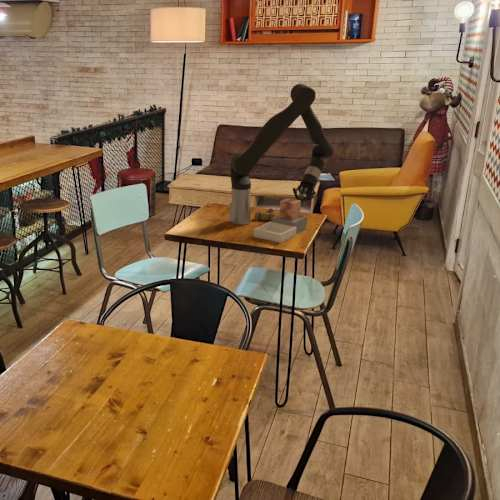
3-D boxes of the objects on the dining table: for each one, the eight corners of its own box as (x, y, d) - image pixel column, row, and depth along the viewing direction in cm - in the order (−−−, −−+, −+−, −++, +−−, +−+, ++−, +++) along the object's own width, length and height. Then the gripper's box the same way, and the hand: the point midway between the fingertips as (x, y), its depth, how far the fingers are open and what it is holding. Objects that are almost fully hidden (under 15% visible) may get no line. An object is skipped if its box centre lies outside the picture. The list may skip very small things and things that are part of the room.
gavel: (263, 204, 256) (281, 206, 254) (262, 213, 257) (280, 214, 255) (254, 212, 236) (274, 213, 234) (254, 221, 237) (274, 223, 235)
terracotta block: (279, 217, 222) (280, 200, 219) (286, 214, 228) (287, 198, 225) (292, 220, 219) (293, 203, 216) (299, 216, 224) (300, 200, 221)
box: (253, 237, 213) (253, 228, 212) (269, 229, 224) (270, 221, 223) (280, 243, 206) (281, 234, 204) (296, 235, 217) (296, 227, 216)
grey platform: (271, 230, 224) (272, 217, 221) (284, 224, 233) (284, 212, 231) (294, 235, 217) (294, 222, 215) (306, 228, 227) (307, 216, 225)
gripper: (296, 171, 234) (283, 200, 228) (321, 174, 227) (307, 204, 222) (301, 180, 240) (288, 208, 234) (325, 184, 233) (312, 213, 228)
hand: (297, 206), depth 228 cm, fingers closed
